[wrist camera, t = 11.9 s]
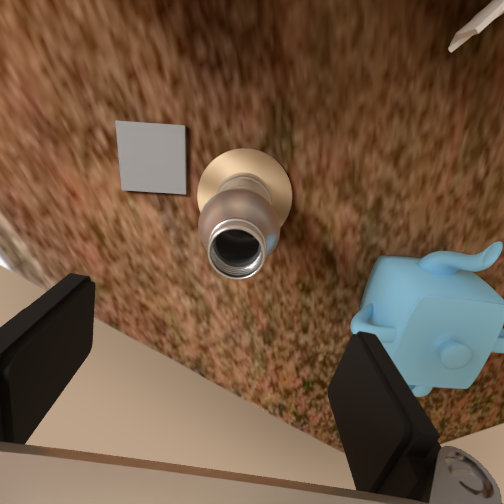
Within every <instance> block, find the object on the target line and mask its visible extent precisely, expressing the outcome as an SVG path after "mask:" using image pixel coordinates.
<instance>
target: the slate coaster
mask: <svg viewBox="0 0 504 504" xmlns="http://www.w3.org/2000/svg"><path fill="white" fill-rule="evenodd" d="M115 122H116V133H117V143H118V154H119V165H120V175H121V186H122V190H126V191H142V192H157V193H173V194H187V161H186V126H184V125H170V124H155V123H141V122H127V121H115Z"/></svg>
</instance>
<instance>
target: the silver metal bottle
mask: <svg viewBox="0 0 504 504" xmlns="http://www.w3.org/2000/svg"><path fill="white" fill-rule="evenodd" d="M272 205H273V197H272V193H271V191H270V189H269V187H268V185H267V184H266V183H265V182H264V181H263V180H262V179H261V178H260V177H258V176H256V175H254V174H251V173H236V174H233V175H231V176H229V177H228V178H226V179H225V180H224V181H223V182H222V183H221V185H220V187H219V189H218V192H217V194H216V195H215V196H213V197H212V198H211V199H210V200H209V201H208V202H207V203H206V204H205V205H204V207H203V209H202V211H201V214H200V217H199V225H198V228H199V235H200V238H201V240H202V243H203V245H204V247H205V249H206V250H207V252H208V258H209V261H210V263H211V265H212V267H213V268H214V269H215V270H216V271H217V272H218V273H219V274H220V275H222V276H224V277H226V278H229V279H234V280H242V279H247V278H250V277H252V276H253V275H255V274H256V273H257V272H258V271H259V270H260V269H261V267H262V266H263V263H264V261H265V259H266V258H267V257H268V256H269V255H270V254H271V253H272V252H273V251H274V249H275V247H276V246H277V243H278V241H279V236H280V224H279V220H278V216H277V214H276V212H275V210H274V208H273V207H272Z"/></svg>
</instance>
